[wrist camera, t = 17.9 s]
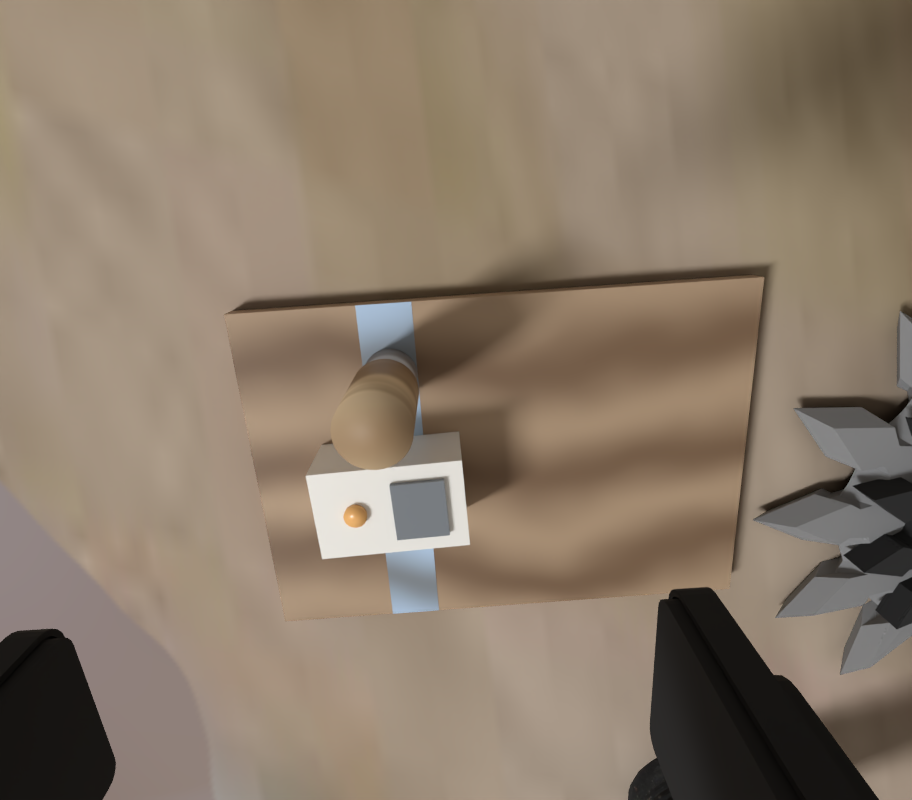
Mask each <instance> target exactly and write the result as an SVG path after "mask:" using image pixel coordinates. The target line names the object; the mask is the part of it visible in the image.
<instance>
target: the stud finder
mask: <svg viewBox="0 0 912 800" xmlns="http://www.w3.org/2000/svg"><path fill="white" fill-rule="evenodd" d="M306 481H307V486H308V491H309V496H310V501H311V506H312V511H313V516H314V521H315V526H316V531H317V536H318V541H319V546H320V551H321V556H322V559H330V558H340V557H351V556H361V555H371V554H381V553H392V552H402V551H412V550H423V549H433V548H443V547H453V546H464V545H470V539H469V529H468V518H467V508H466V497H465V487H464V477H463V467H462V457H461V446H460V436H459V431H458V432H448V433H437V434H427V435H417V436H413V442H412V445H411V448H410V450H409V451H408V453H407V454H406V456H405V457H404V458H403V459H402V460H401V461H399V462H398V463H397V464H395V465H393V466H391V467H388V468H385V469H380V470H367V469H362V468H359V467H356V466H354V465H352V464H350V463H349V462H347V461H346V460H345V459H344V458H342V456H341V455H340V454H339V453H338V452H337V450H336V449H335V447H334V445H333V444H325V445H321V447H320V449H319V451H318V453H317V454H316V456H315V458H314V460H313V462H312V464H311V466H310V468H309V470H308V472H307V474H306Z"/></svg>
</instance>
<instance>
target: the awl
mask: <svg viewBox="0 0 912 800" xmlns="http://www.w3.org/2000/svg"><path fill="white" fill-rule="evenodd" d="M417 378H418V373H417V368H416V365H415V363H414V362H413V360H412V359H411V358H410V357H409V356H408V355H407V354H406V353H404V352H402V351H400V350H396V349H383V350H380V351H378V352H376V353H374V354H373V355H372V356H371V357H370V358H369V359H368V361H367V362H366V364H365V365H364V366H363V367H361V368H360V369H359V371H358V372H357V373H356V375H355V377H354V379H353V380H352V382H351V384H350V386H349V388H348V390H347V392H346V393H345V395H344V397H343V399H342V401H341V403H340V404H339V406H338V408H337V410H336V412H335V414H334V416H333V418H332V422H331V429H330V432H331V439H332V442H333V445H334V447H335V449H336V450H337V452H338V453H339V454H340V455H341V456H342V458H344V459H345V460H346V461H347V462H349V463H350V464H352V465H354V466H356V467H359V468H362V469H367V470H380V469H385V468H388V467H391V466H393V465H395V464H397V463H398V462H399V461H401V460H402V459H403V458H404V457H405V456H406V454H407V453H408V451H409V450H410V448H411V445H412V442H413V436H414V429H415V421H416V413H417V406H418V398H419V386H418V382H417Z"/></svg>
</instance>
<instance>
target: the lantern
mask: <svg viewBox="0 0 912 800" xmlns="http://www.w3.org/2000/svg"><path fill="white" fill-rule="evenodd" d="M628 800H673V798H672V795H671V793H670V790H669V788H668V785H667V782H666V780H665V777H664V775H663V772H662V769H661V767H660V764H659V762H658V759H655V760H653V761H652V762H650V763H649V764H647V765H646V766H645V767H644V768H643V769H641V770H640V771H639V772H638V774H637V775H636V777H635V779H634V780H633V782H632V783H631V785H630V788H629V795H628Z"/></svg>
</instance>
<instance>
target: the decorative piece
mask: <svg viewBox="0 0 912 800" xmlns="http://www.w3.org/2000/svg"><path fill="white" fill-rule="evenodd" d="M897 387H899V388H902V389H904V390H906V391H907V393H908V401H909V403H908V404H907V406H906V407H905V409H904V410H903V411H902V412H901V413H900V414H899V415H898V416H897V417H896V418H894V419H893V420H892V421H891V422H890V423H889V424H888V423H886V422H885V421H883V420H882V419H880V418H878V417H877V416H875V415H873V414H872V413H870V412H869V411H867V410H865V409H864V408H862V407H838V408H794V410H795V411H796V413H797V414H798V416H799V417H800V419H801V420H802V422H803V423H804V425H805V426H806V428H807V429H808V431H809V432H810V434H811V435H812V437H813V438H814V440H815V441H816V443H817V444H818V446H819V447H820V449H821V450H822V452H823V453H824V455H825V456H826V457H828V458H831V459H833V460H836V461H838V462H841V463H843V464H846V465H848V466H850V467H853V468H855V471H854V473H853V475H852V477H851V479H850V481H849V483H848V485H847V486H846V487H845V488H844V489H843V490H840V491H836V492H833V493H830V492H828V491H826V490H825V489H823V488H821V489H819V490H817V491H814V492H812V493H809V494H807V495H805V496H802V497H800V498H797V499H795V500H793V501H790V502H788V503H785V504H783V505H780V506H778V507H776V508H773V509H771V510H768V511H766V512H765V513H763V514H761V515H760V516H758V517H757V518H755V519H753V520H754V521H756V522H759V523H761V524H764V525H766V526H769V527H771V528H774V529H776V530H779V531H781V532H784V533H786V534H789V535H792V536H794V537H797V538H799V539H802V540H808V541H815V542H821V543H828V544H835V545H839V549H840V552H841V556H840V558H836V559H831V560H827V561H822V562H821V563H820V564H819V565H818V566H817V567H816V568H815V569H814V570H813V571H812V572H811V574H810V575H809V576H808V577H807V578H806V579H805V580H804V581H803V582H802V583H801V584H800V585H799V586H798V587H797V588H796V589H795V590H794V591H793V592H792V593H791V594H790V595H789V596H788V597H787V599H786V601H785V602H784V604H783V606H782V607H781V609H780V611H779V612H778V614H777V616H776V617H775V618H780V617H797V616H813V615H818V614H823V613H828V612H833V611H838V610H843V609H848V608H852V607H857V606H862V605H863V607H862V609H861V611H860V613H859V616H858V618H857V620H856V622H855V625H854V627H853V629H852V631H851V634H850V636H849V638H848V640H847V643H846V645H845V647H844V653H843V659H842V665H841V671H840V675H841V674H845V673H850V672H854V671H858V670H862V669H866V668H870V667H871V666H873V665H874V664H875V663H877V662H878V661H879V660H881V659H882V658H883V657H884V656H886V655H887V654H888V653H890V652H891V651H892V650H894V649H895V648H896V647H897V646H899V645H900V644H901V643H903V642H904V641H905V640H907V639H908V638H909V637H910V636H912V318H911V317H909V316H908V315H906V314H904V313H903V312H901V311H900V315H899V321H898V326H897ZM868 597H869V598H870V599H871V601H870V602H868V603H866V604H865V602H866V601H867V599H868ZM864 604H865V605H864Z"/></svg>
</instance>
